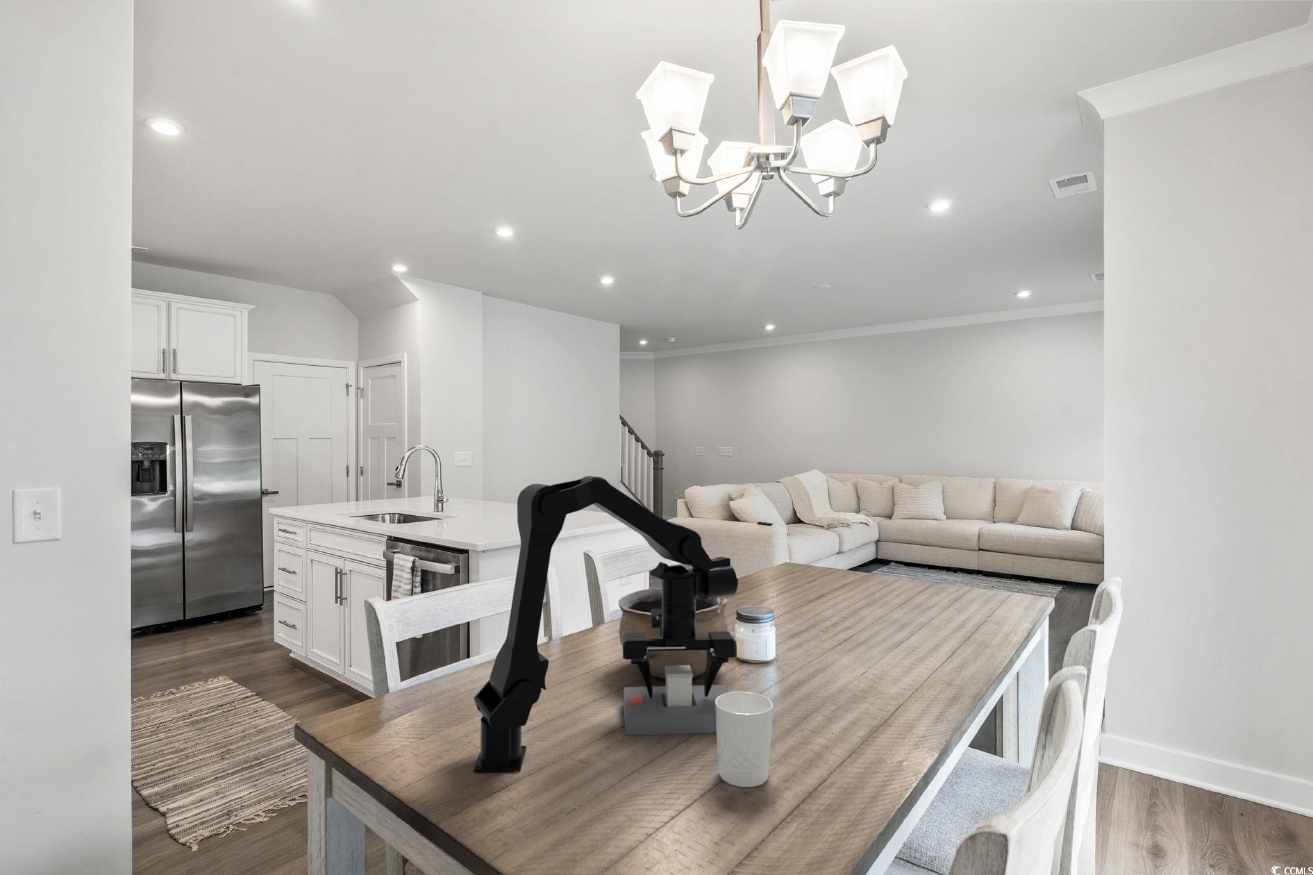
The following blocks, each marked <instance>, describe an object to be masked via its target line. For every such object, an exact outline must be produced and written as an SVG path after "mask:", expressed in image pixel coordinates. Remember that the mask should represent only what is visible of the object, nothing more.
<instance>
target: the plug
mask: <svg viewBox="0 0 1313 875" xmlns="http://www.w3.org/2000/svg"><path fill="white" fill-rule="evenodd" d="M665 671H666V679H665V686H666V697H665V707H671V706H692V686H693V678H694V677H693V674H692V671H691V668H690V665H671V666H665Z"/></svg>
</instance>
